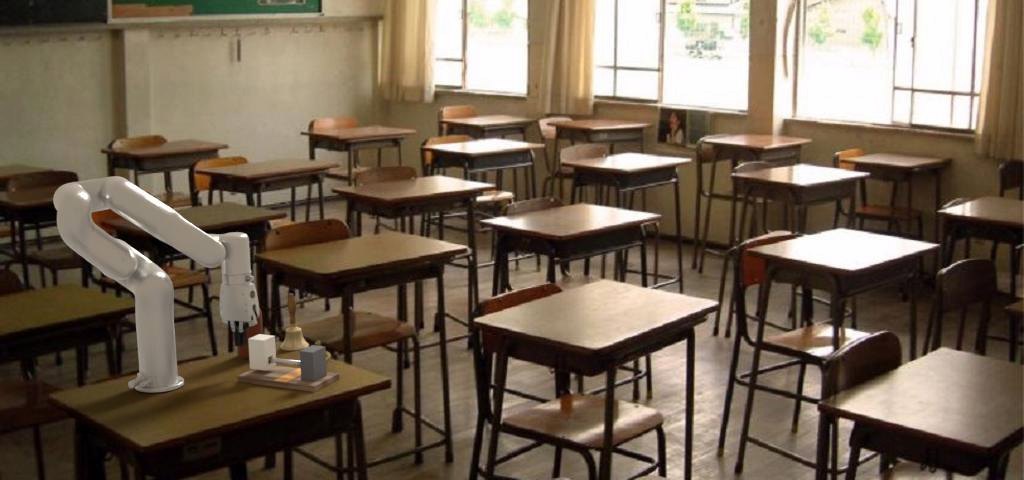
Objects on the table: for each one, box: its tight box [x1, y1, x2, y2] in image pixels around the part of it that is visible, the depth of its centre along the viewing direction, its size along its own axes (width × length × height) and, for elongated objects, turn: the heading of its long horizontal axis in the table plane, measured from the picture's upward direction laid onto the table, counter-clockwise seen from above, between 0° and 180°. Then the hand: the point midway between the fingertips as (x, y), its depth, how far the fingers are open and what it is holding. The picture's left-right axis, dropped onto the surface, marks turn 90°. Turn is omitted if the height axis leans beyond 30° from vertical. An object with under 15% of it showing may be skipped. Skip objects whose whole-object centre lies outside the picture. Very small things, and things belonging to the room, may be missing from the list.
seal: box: [296, 340, 332, 364], centre depth 350 cm, size 9×5×15 cm
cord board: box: [237, 364, 340, 393], centre depth 332 cm, size 12×24×2 cm, turn 66°
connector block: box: [299, 344, 328, 382], centre depth 327 cm, size 6×4×8 cm, turn 156°
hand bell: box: [279, 292, 310, 352], centre depth 362 cm, size 8×8×16 cm
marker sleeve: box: [248, 333, 277, 370], centre depth 334 cm, size 5×5×8 cm
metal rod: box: [268, 357, 301, 367], centre depth 332 cm, size 1×16×1 cm, turn 66°
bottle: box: [236, 269, 264, 361], centre depth 352 cm, size 7×7×25 cm
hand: (241, 345), depth 336 cm, fingers closed
